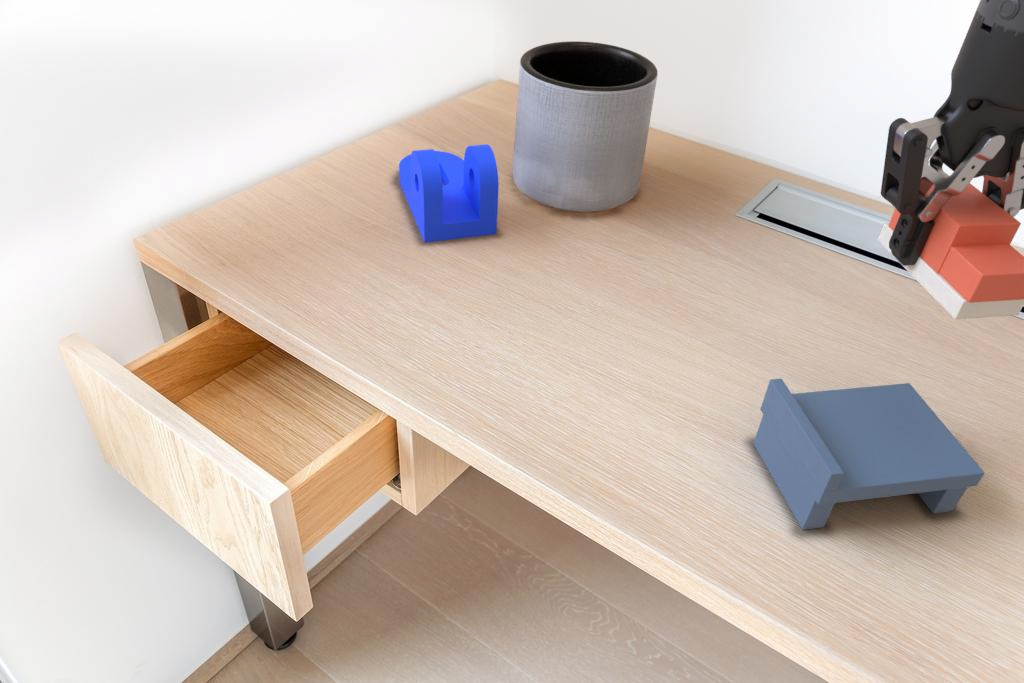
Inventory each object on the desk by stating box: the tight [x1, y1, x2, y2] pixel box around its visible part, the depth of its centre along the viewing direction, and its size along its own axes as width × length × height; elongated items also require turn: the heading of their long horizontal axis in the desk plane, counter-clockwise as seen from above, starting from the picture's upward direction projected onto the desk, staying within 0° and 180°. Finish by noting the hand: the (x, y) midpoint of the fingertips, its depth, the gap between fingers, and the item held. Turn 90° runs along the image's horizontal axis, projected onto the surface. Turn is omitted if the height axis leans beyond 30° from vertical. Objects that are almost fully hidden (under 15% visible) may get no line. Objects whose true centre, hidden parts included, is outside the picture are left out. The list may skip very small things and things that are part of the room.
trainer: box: [877, 182, 1024, 320], centre depth 55 cm, size 10×5×5 cm, turn 10°
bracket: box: [398, 144, 500, 243], centre depth 93 cm, size 18×8×9 cm, turn 17°
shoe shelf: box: [753, 378, 986, 531], centre depth 62 cm, size 13×10×7 cm
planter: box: [511, 40, 659, 214], centre depth 95 cm, size 16×16×16 cm
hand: (935, 256), depth 58 cm, fingers closed on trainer, 4 cm apart
